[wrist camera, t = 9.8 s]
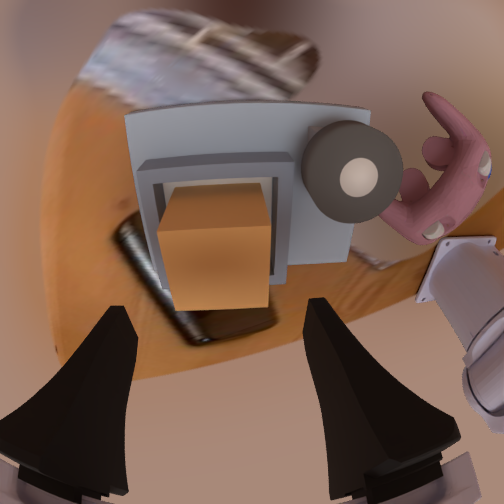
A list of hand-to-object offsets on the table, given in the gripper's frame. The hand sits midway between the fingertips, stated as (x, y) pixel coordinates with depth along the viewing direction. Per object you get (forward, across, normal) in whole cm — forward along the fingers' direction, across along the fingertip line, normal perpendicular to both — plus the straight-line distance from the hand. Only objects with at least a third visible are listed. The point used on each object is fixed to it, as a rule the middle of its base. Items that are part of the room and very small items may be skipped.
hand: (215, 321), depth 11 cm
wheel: (+8, -7, -4) cm, 11 cm away
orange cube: (+8, 0, 0) cm, 8 cm away
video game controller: (+10, -14, -4) cm, 17 cm away
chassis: (+10, -2, -1) cm, 10 cm away
